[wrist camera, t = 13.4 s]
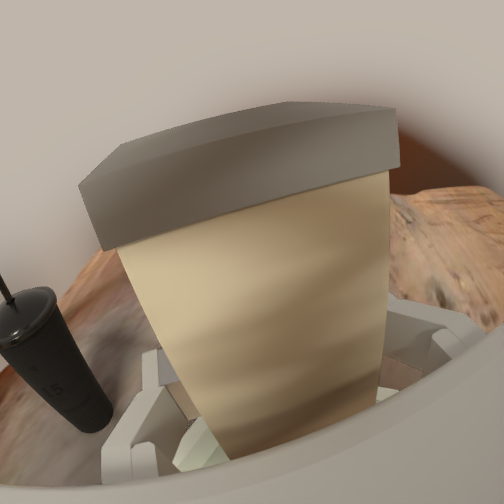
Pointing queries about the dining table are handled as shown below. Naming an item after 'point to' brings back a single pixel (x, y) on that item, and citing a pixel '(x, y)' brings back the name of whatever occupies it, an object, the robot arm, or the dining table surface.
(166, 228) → the tan rectangular block
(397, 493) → the robot arm
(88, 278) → the dining table surface
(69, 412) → the drinking cup
